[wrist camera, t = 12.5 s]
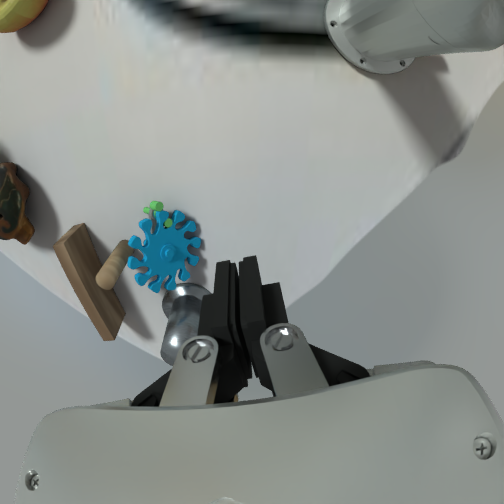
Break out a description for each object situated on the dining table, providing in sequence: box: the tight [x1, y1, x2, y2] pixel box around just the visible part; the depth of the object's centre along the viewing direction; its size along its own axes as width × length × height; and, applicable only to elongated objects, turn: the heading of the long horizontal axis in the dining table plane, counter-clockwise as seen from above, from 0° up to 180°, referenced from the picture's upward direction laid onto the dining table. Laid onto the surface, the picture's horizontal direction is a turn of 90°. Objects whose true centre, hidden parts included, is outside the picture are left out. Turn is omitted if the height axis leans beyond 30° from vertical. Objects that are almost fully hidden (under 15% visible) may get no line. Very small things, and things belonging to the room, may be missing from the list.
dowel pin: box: [96, 240, 134, 290], centre depth 33 cm, size 2×2×8 cm
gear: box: [128, 201, 201, 293], centre depth 34 cm, size 11×6×10 cm
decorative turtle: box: [0, 162, 35, 244], centre depth 28 cm, size 10×15×8 cm, turn 33°
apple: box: [0, 0, 48, 33], centre depth 14 cm, size 10×10×8 cm
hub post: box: [161, 283, 211, 366], centre depth 37 cm, size 8×8×10 cm
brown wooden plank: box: [53, 223, 125, 341], centre depth 36 cm, size 2×16×6 cm, turn 10°
